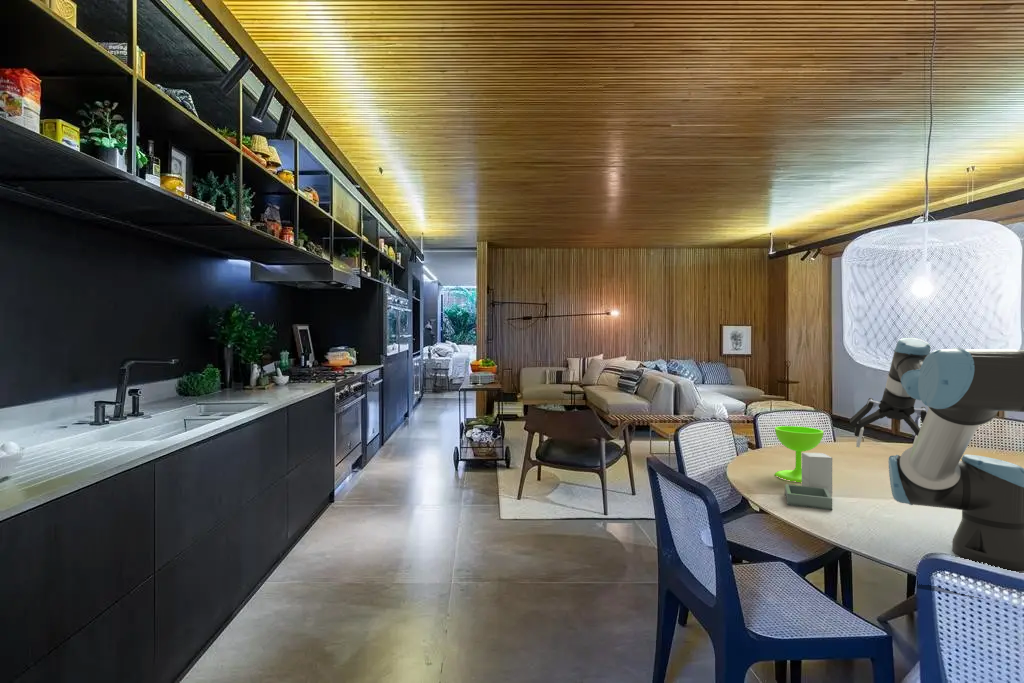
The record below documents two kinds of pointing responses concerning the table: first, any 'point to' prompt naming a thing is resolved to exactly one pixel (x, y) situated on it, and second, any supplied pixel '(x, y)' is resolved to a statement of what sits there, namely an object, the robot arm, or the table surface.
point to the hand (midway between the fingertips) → (884, 450)
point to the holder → (808, 497)
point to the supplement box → (817, 470)
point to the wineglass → (797, 446)
